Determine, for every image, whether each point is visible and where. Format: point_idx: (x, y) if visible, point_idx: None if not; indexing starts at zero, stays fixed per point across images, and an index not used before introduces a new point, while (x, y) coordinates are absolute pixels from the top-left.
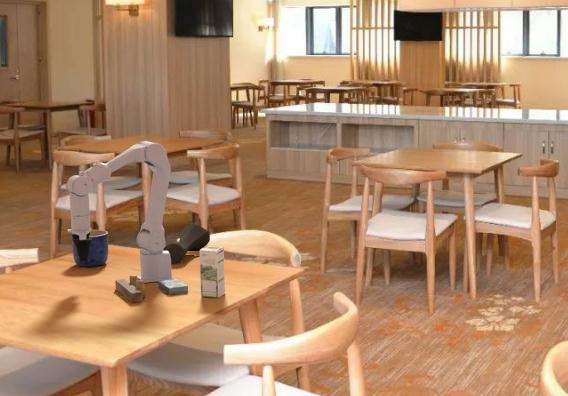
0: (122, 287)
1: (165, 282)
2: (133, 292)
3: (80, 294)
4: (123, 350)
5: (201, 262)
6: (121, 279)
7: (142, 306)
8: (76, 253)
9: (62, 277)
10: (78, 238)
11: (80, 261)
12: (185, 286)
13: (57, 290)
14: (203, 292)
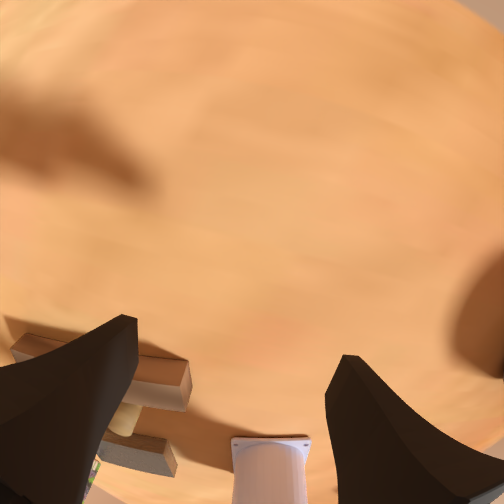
0: None
1: (142, 455)
2: (16, 355)
3: (169, 221)
4: None
5: None
6: (182, 403)
7: (6, 337)
8: None
9: (492, 233)
10: (5, 485)
11: (121, 314)
12: (99, 457)
13: (304, 138)
14: None
